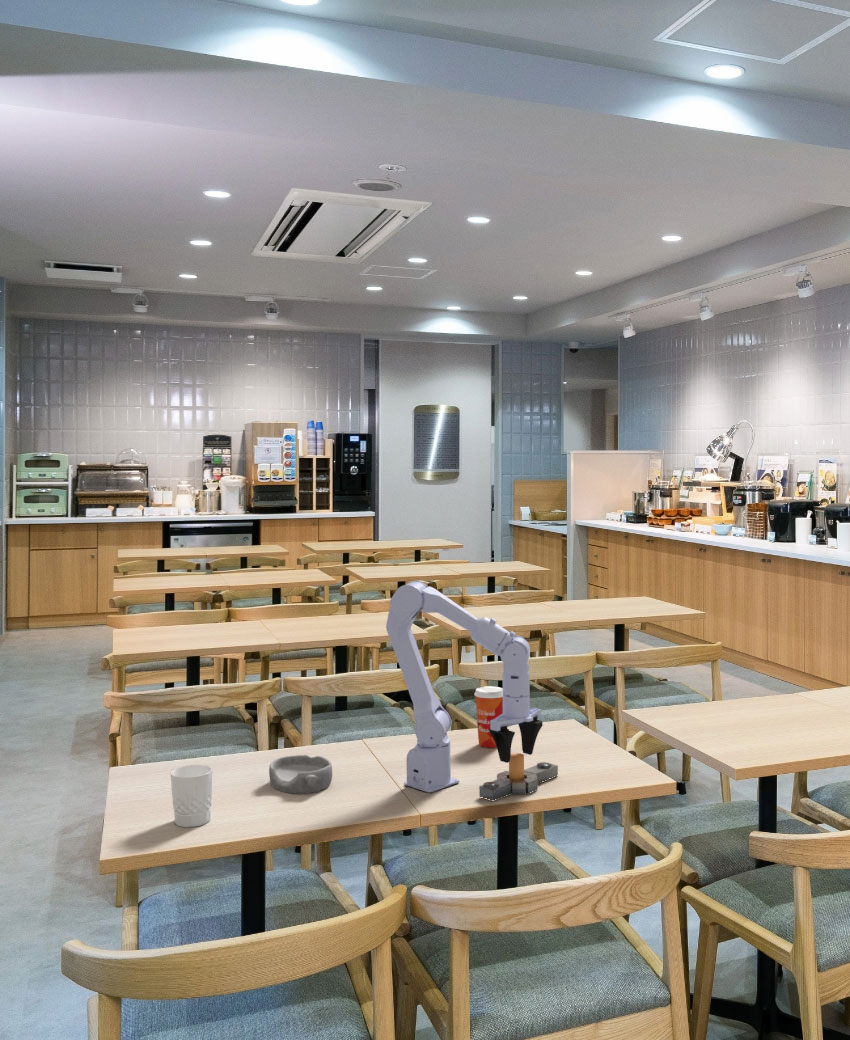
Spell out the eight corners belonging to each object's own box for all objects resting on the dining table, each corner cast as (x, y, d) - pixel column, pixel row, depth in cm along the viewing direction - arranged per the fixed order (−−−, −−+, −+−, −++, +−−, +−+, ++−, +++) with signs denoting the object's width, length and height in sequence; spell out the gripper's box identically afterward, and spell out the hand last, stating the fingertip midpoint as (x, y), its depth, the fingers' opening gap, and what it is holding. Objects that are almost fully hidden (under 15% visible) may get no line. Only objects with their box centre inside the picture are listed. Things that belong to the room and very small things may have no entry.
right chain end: (519, 797, 189) (519, 783, 189) (489, 788, 195) (489, 775, 195) (566, 778, 200) (566, 765, 200) (536, 770, 206) (536, 758, 206)
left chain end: (501, 804, 185) (501, 790, 185) (470, 794, 191) (470, 781, 190) (544, 787, 195) (544, 774, 195) (514, 778, 201) (514, 766, 200)
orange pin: (517, 791, 192) (516, 758, 192) (506, 787, 195) (505, 755, 195) (527, 787, 195) (526, 755, 194) (516, 784, 197) (516, 752, 197)
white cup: (218, 813, 182) (216, 764, 181) (207, 828, 174) (205, 777, 173) (179, 813, 182) (177, 764, 182) (166, 828, 174) (165, 777, 174)
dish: (321, 798, 191) (321, 774, 190) (259, 794, 193) (258, 771, 193) (341, 776, 205) (341, 754, 205) (283, 772, 208) (282, 751, 207)
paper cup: (468, 744, 227) (467, 689, 226) (489, 738, 232) (489, 684, 231) (491, 751, 221) (490, 694, 220) (512, 745, 226) (511, 689, 226)
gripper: (508, 703, 186) (508, 769, 186) (551, 691, 196) (552, 753, 197) (482, 698, 191) (483, 762, 191) (526, 686, 201) (526, 747, 202)
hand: (516, 757), depth 194 cm, fingers open, 7 cm apart
